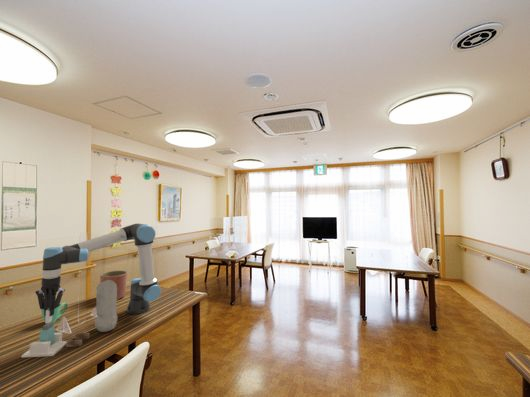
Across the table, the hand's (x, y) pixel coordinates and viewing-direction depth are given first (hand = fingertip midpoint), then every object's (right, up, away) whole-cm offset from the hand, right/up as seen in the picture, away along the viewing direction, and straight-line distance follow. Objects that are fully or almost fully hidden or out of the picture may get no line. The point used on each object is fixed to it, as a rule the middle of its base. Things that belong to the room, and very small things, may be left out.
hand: (48, 321), depth 128 cm
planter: (-12, -17, +72) cm, 75 cm away
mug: (-24, -15, +31) cm, 41 cm away
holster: (+10, -15, +7) cm, 19 cm away
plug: (0, -13, -1) cm, 13 cm away
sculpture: (+16, -16, +21) cm, 31 cm away
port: (0, -14, -1) cm, 14 cm away
